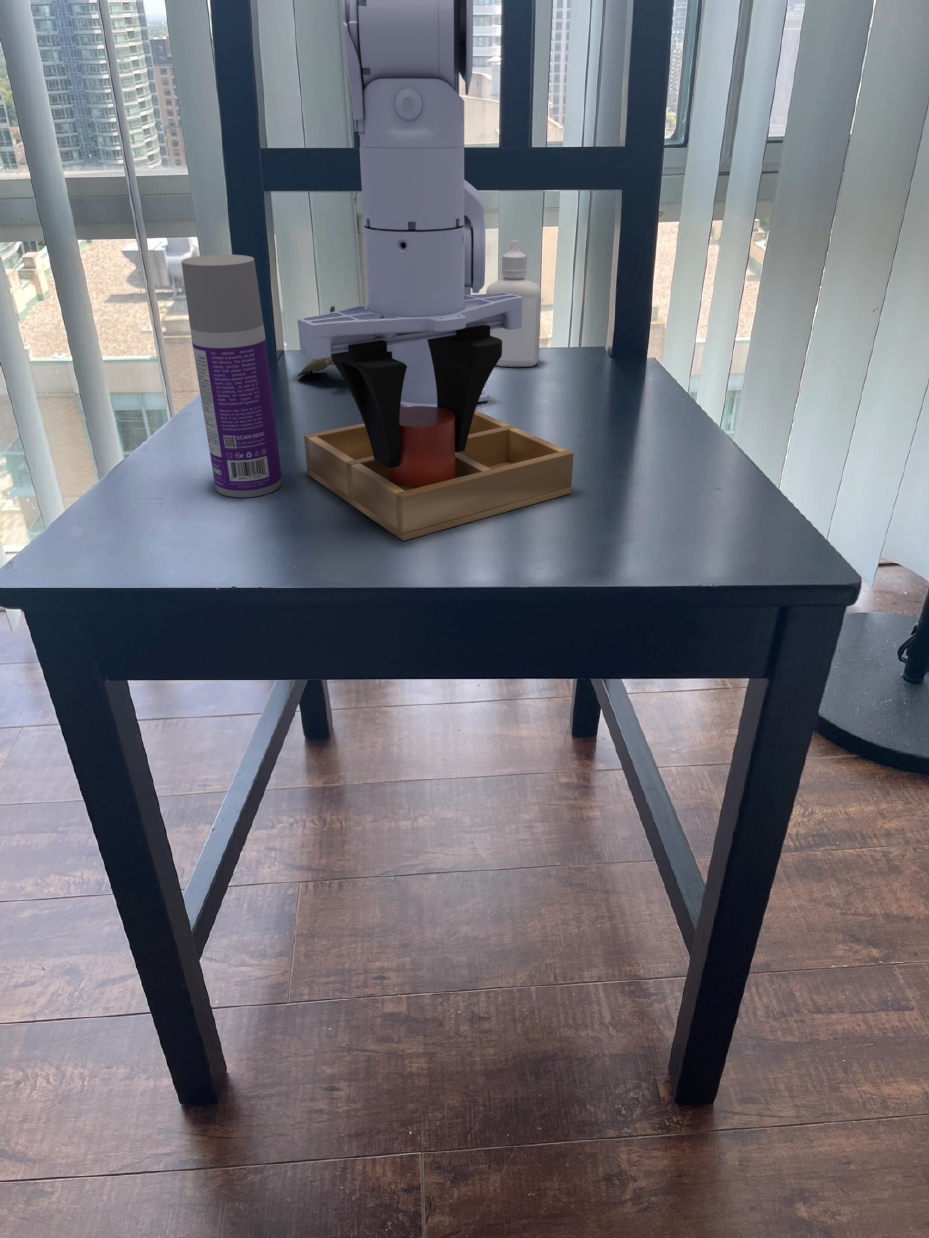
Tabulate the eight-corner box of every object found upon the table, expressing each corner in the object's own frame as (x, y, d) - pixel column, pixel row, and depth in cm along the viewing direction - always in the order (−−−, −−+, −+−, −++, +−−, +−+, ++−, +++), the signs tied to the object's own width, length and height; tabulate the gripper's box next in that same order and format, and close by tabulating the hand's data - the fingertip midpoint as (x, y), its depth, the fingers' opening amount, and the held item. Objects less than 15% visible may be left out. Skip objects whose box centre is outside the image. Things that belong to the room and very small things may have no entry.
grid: (307, 474, 63) (303, 435, 61) (461, 439, 69) (461, 403, 68) (403, 541, 53) (401, 496, 52) (571, 493, 60) (574, 452, 58)
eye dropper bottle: (520, 372, 87) (525, 245, 81) (477, 363, 90) (478, 240, 84) (545, 363, 90) (551, 240, 84) (502, 355, 93) (505, 236, 87)
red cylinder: (376, 472, 56) (372, 413, 54) (432, 459, 59) (430, 402, 57) (410, 493, 53) (408, 431, 51) (468, 479, 56) (468, 419, 53)
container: (294, 477, 62) (270, 256, 55) (260, 501, 58) (229, 267, 51) (238, 469, 64) (207, 252, 56) (202, 492, 60) (163, 263, 52)
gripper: (331, 243, 42) (349, 499, 49) (558, 224, 49) (546, 450, 56) (273, 229, 47) (297, 463, 54) (486, 214, 54) (483, 423, 61)
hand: (420, 455), depth 55 cm, fingers closed on red cylinder, 4 cm apart
